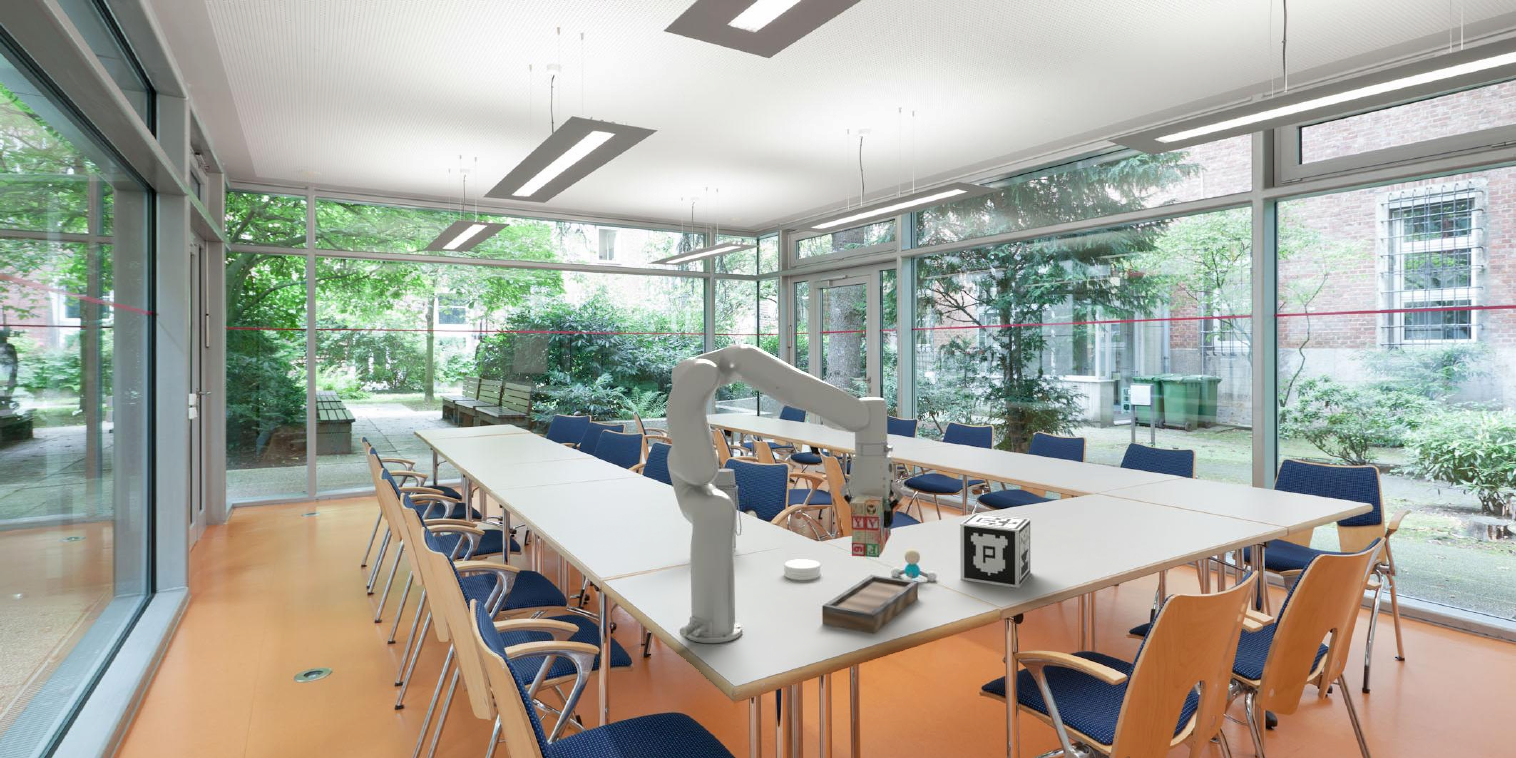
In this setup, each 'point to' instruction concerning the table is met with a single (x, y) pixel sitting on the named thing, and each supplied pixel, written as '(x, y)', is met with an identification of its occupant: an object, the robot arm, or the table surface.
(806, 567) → the coaster
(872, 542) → the stack of blocks
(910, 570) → the molecule model
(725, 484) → the water bottle
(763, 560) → the table surface
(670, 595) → the table surface
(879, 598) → the wooden tray
